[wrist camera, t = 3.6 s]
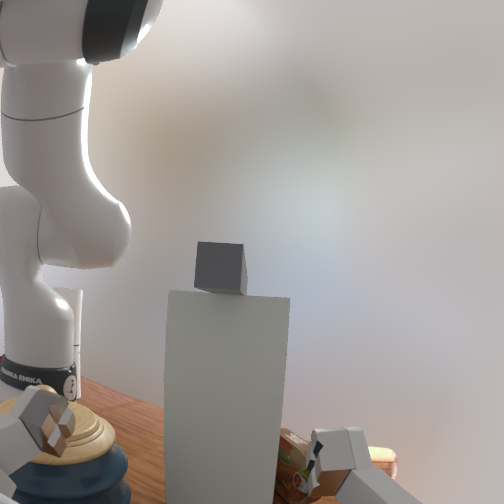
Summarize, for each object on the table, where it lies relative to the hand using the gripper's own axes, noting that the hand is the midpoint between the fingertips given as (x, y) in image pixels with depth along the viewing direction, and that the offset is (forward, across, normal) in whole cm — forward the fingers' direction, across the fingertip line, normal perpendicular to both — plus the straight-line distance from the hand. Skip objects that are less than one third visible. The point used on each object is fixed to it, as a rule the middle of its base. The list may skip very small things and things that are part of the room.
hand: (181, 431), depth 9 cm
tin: (+14, -8, +33) cm, 37 cm away
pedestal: (+11, 0, +31) cm, 33 cm away
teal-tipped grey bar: (+19, 0, +6) cm, 20 cm away
